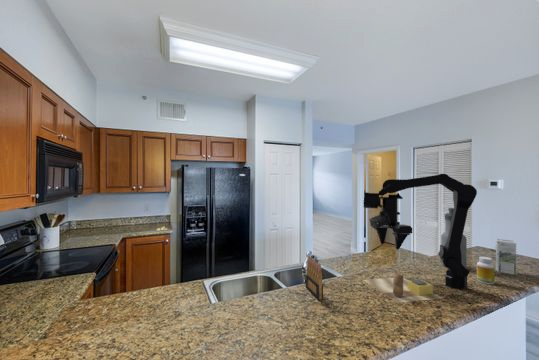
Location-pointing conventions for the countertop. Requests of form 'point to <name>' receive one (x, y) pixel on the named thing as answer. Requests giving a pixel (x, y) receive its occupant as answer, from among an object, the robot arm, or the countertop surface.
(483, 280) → the supplement bottle
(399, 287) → the wooden tool handle
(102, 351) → the countertop surface
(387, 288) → the plywood panel
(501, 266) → the syrup box
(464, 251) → the water bottle
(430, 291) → the block
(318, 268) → the ammunition clip
